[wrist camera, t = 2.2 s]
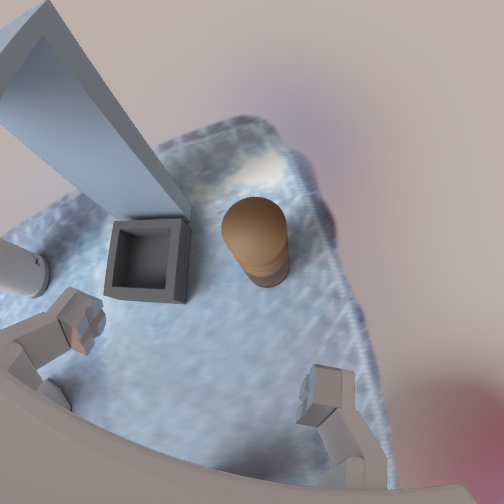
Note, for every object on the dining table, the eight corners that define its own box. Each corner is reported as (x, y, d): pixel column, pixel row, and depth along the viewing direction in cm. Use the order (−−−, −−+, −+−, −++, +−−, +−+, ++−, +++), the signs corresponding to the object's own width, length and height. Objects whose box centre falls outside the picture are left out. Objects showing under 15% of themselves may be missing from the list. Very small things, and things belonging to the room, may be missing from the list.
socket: (185, 304, 33) (173, 299, 29) (119, 299, 34) (103, 295, 30) (191, 229, 35) (181, 218, 32) (128, 231, 36) (114, 221, 33)
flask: (31, 405, 31) (-19, 410, 22) (46, 370, 32) (-8, 370, 23) (62, 440, 29) (12, 455, 20) (79, 406, 31) (25, 416, 21)
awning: (183, 304, 33) (-71, 187, 6) (107, 298, 34) (-112, 213, 7) (192, 205, 36) (48, -2, 9) (120, 209, 37) (-40, 63, 10)
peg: (288, 287, 32) (286, 258, 20) (245, 287, 32) (219, 258, 21) (288, 246, 33) (286, 196, 22) (247, 246, 34) (223, 197, 22)
